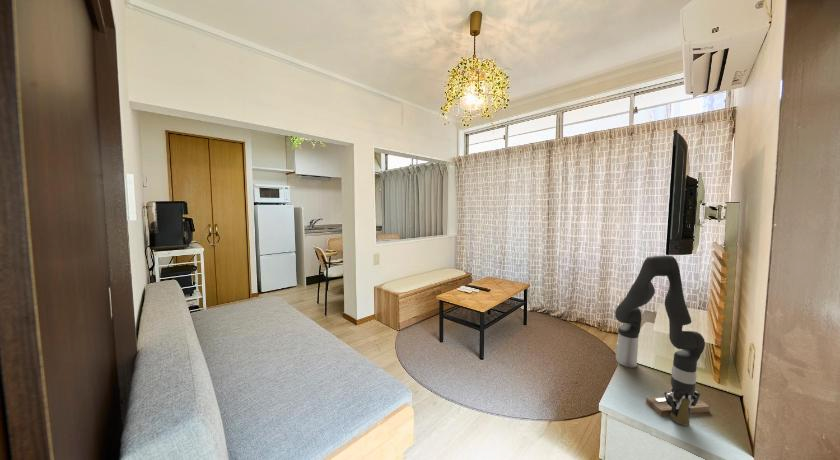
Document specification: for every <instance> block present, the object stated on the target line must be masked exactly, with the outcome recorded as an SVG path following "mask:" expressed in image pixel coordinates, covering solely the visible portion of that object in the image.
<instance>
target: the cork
mask: <svg viewBox="0 0 840 460" xmlns="http://www.w3.org/2000/svg"><path fill="white" fill-rule="evenodd" d="M674 399H675V400H676V401H679V400H677V399H676V398H675V397H674ZM675 404H676V402H675ZM689 404H690V400H689V399H688V398H685V399H683V400H681V405H680V406H679V411H678V415H677V417H676V415H674V414H672V412H671V415H669V416H670V418H671V420H673V422H675V423H677V424H680V425H683V426H688V425H690V423H691V422H690V413H689V412H688V405H689Z"/></svg>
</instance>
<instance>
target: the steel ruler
mask: <svg viewBox="0 0 840 460" xmlns="http://www.w3.org/2000/svg"><path fill="white" fill-rule="evenodd" d="M655 400H657V401H658V402H665V401H666V398H658V399H655Z"/></svg>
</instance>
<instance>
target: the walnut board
mask: <svg viewBox="0 0 840 460" xmlns="http://www.w3.org/2000/svg"><path fill="white" fill-rule="evenodd" d="M658 398H665V395H660V396H659V395H658V396H648V397H645V403H646V404H647V406H649V407H650V408H651V409H653V410H654V411H655V412H656V413H657V414H659V415H660V417H665V416H670V415H671V411H672V407H671V406H670V405H668V404H667V402H666V401H665V402H658V401H657V400H655V399H658ZM692 402H693V399H692ZM708 412H710V406H709V404H707V403H705V402H704V401H703V400H701V399H700V398H699V399H698V401H697V403H696V406H692V407H691V408H690V413H689V414H697V413H708Z"/></svg>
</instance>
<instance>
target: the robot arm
mask: <svg viewBox="0 0 840 460" xmlns="http://www.w3.org/2000/svg"><path fill="white" fill-rule="evenodd" d="M680 271H681V270H680V265H679V263H678V261H677V259H676V258H675V257H674V256H672V255H649V256H647V257H646V258H645V259H644V261H643V263H642V265H641V268H640V271H639V273H638V274H637V277H636V278H635V281H634V282H633V283H632V285H631V286H630V288H629V290H628V292H627V294H626V296H625V297H624V298H623V300H622V301H621V302H620V303H619V305H617V307H616V309H615V311H614V312H615V313H614V316H615V318H616V320H617V322H619V323H620V324H621V323H622V324H623V325H620V326H619V327H618V329H617V331H618V332H617V343H615V344H616V345H615V359H616V362H617V363H618V364H619V365H621V366H623V367H625V368H636V367H637V366H638V354H639V353H638V351H639V350H638V349H639V336H640V335H639V334H640V332H641V326H642V320H643V319H642V312H641V311H642V310H641V309H640V307H643V306H645V305H646V304H649V302H650V301H651V300H652V299H653V297H654V296H655V294H656V289H655V286H654V285H653V282H652V280H653V279H654V278H656V277H667V279H668V284H669V285H668V291H667V293H666V295H665V299H664V309H665V312H666V314H667V317H668V321H669V329H668V330H669V331H668V332H669V333H668V334H669V335H668V337H669V341H670V343H671V344H672V346H674V347H675V348H676V349H677V351H675V352H674V354H673V362H672V367H671V376H670V377H671V378H670V385H671V388H672V389H671V390H670V392H667V391H665V392H664V393H663V396H665V398H666V402H667V404H668V405H670V406H671V407H672V411H671V412H672V414H674V415H676V417H677V415H678V411H679V406H680V405H681V400H683V399H685V398H688V399H689V400H690V404H689V405H688V412H689V414H691V413H690V408H691V407H692V406H696V403H697V401H698V399H700V396H701V394H700V393H699V391H696V385H697V368H698V367H697V366H698V360H699V359H700V358H701V356H702V354H703V352H704V350H705V347H706V341H705V338H704V337H703V334H701V333H700V332H699V331H696V330H695V331H694V330H683V328H684V327H683V326H689V325H690V324H691V323H692V319H691V318H692V317H691V316H690V313H689V312H690V311H689V310H688V306H687V304H686V303H687V302H686V300H685V296H684V291H683V284H682V275H681V272H680ZM674 397H675V398H676V399H677V400H679V401H676V400H675V399H674ZM692 399H693V402H692ZM675 402H676V404H675Z"/></svg>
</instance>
